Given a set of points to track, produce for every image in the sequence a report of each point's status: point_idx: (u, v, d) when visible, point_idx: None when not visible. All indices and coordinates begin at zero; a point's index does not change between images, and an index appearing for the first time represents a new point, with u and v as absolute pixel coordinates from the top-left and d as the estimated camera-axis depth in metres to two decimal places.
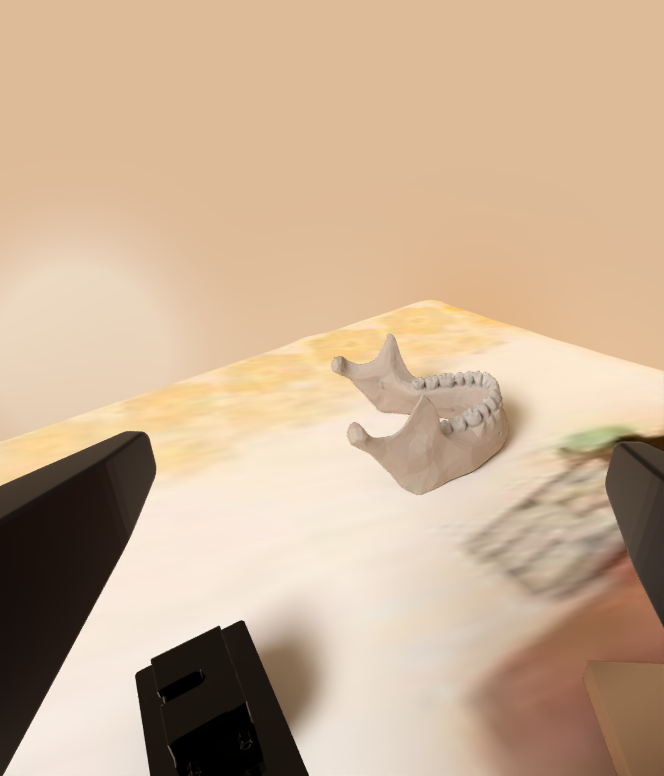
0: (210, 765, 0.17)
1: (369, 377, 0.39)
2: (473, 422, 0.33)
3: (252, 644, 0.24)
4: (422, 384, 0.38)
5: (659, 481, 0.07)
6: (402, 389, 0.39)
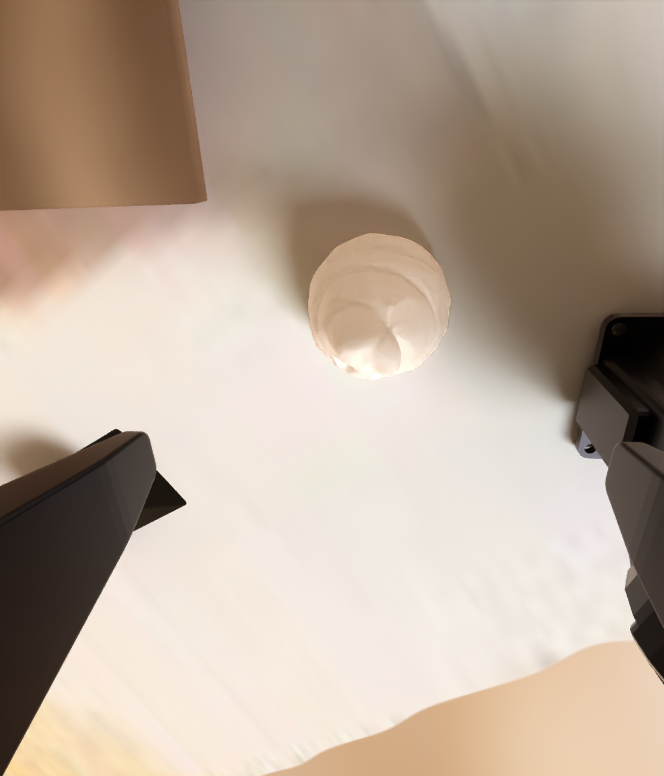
0: None
1: None
2: None
3: None
4: None
5: (659, 481, 0.07)
6: None
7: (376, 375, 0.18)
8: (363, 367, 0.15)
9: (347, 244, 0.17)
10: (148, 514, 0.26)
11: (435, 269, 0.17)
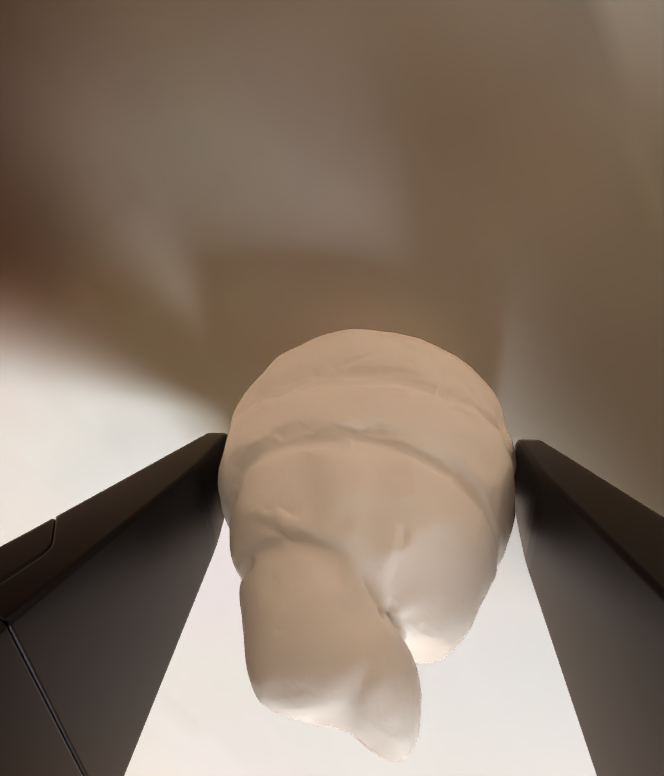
0: None
1: None
2: None
3: None
4: None
5: (540, 478, 0.07)
6: None
7: None
8: None
9: (299, 357, 0.08)
10: None
11: (489, 414, 0.08)
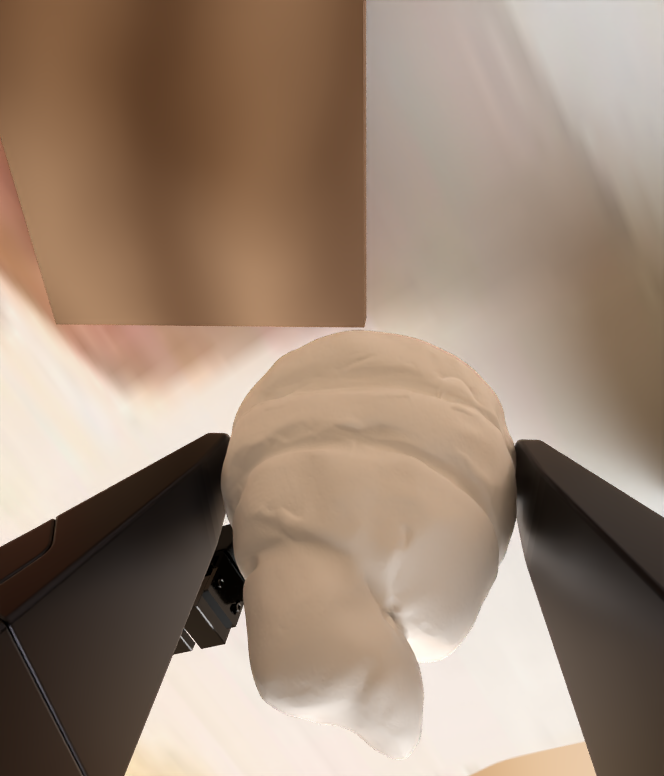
0: (232, 597, 0.26)
1: None
2: None
3: None
4: None
5: (539, 477, 0.07)
6: None
7: None
8: None
9: (301, 358, 0.08)
10: None
11: (490, 414, 0.08)
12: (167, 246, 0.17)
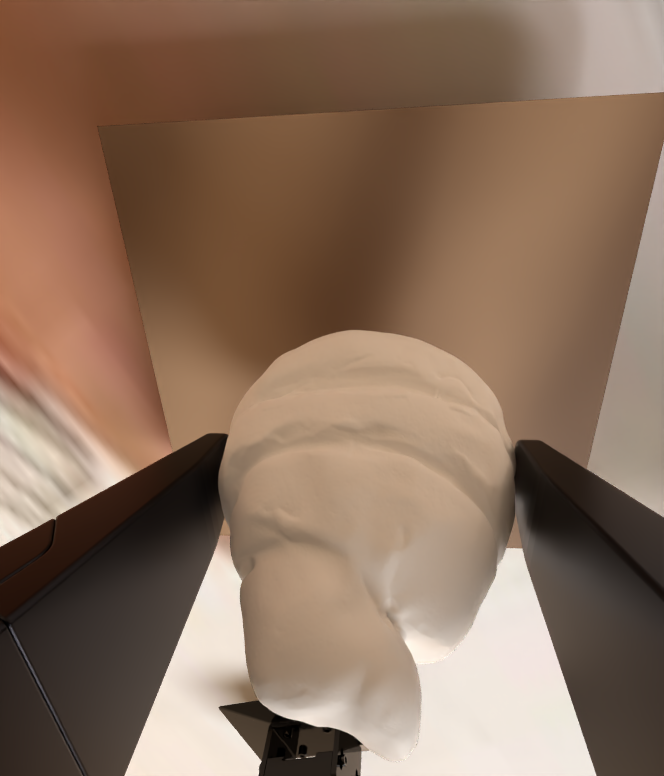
0: (352, 769, 0.23)
1: None
2: None
3: (244, 703, 0.25)
4: None
5: (540, 477, 0.07)
6: None
7: None
8: None
9: (299, 358, 0.08)
10: None
11: (489, 415, 0.08)
12: None
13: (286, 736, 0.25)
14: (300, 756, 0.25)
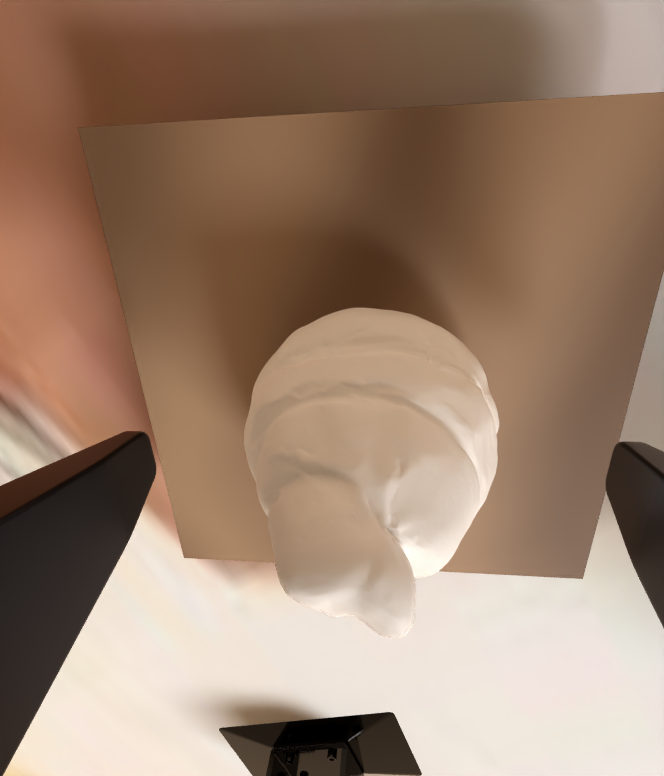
0: None
1: None
2: None
3: (246, 727, 0.24)
4: None
5: (659, 481, 0.07)
6: None
7: None
8: (337, 616, 0.07)
9: (311, 331, 0.09)
10: None
11: (472, 376, 0.09)
12: None
13: (288, 762, 0.24)
14: None
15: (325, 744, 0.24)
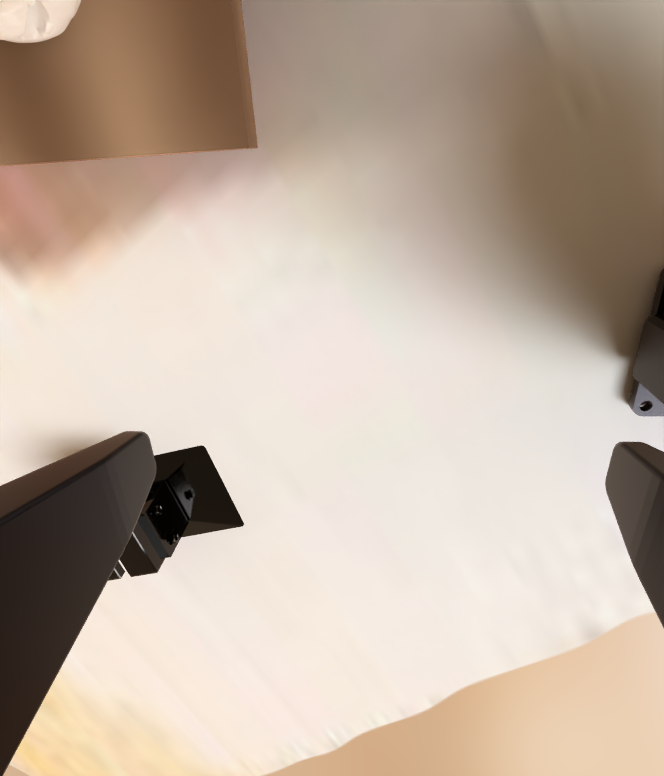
0: (170, 527, 0.24)
1: None
2: None
3: None
4: None
5: (659, 481, 0.07)
6: None
7: None
8: None
9: None
10: (201, 527, 0.26)
11: None
12: (19, 58, 0.15)
13: None
14: None
15: None
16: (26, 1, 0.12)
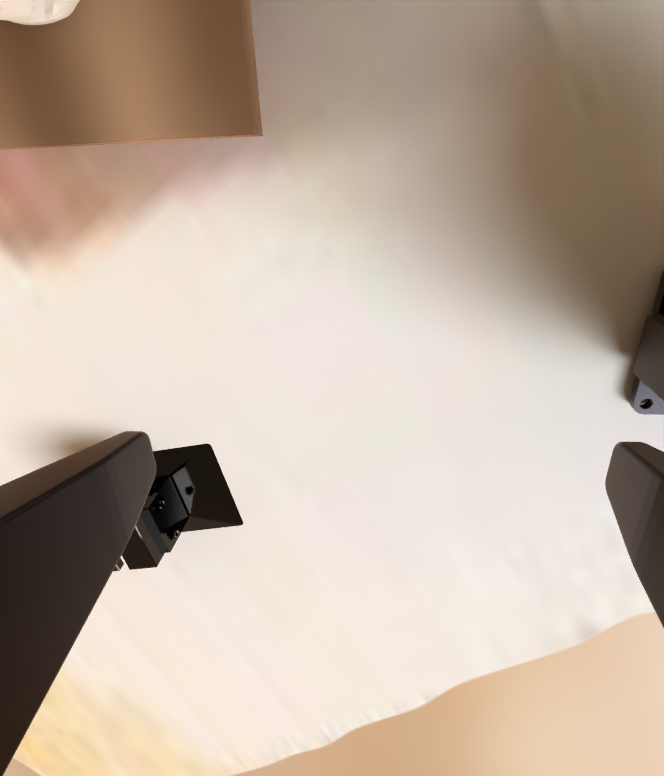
0: (171, 522, 0.24)
1: None
2: None
3: None
4: None
5: (659, 481, 0.07)
6: None
7: None
8: None
9: None
10: (200, 523, 0.27)
11: None
12: (26, 40, 0.15)
13: None
14: None
15: None
16: None
